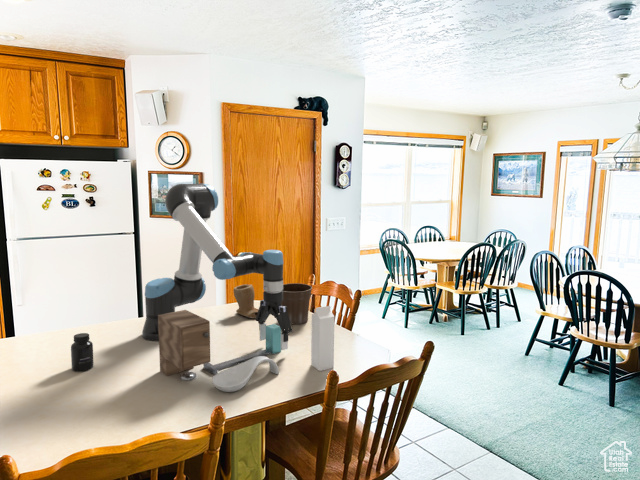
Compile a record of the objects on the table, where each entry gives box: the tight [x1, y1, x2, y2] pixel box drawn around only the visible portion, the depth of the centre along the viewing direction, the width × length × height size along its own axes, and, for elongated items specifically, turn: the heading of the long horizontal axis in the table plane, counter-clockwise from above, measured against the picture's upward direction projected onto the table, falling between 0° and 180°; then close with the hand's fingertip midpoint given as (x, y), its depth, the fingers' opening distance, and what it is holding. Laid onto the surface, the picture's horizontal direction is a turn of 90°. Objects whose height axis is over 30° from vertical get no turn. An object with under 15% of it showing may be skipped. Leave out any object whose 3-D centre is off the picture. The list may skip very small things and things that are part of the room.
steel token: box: [180, 371, 197, 382], centre depth 155 cm, size 5×5×1 cm
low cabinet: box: [158, 309, 211, 377], centre depth 154 cm, size 19×10×20 cm, turn 43°
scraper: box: [202, 323, 282, 375], centre depth 169 cm, size 7×30×10 cm, turn 133°
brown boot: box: [233, 283, 259, 319], centre depth 223 cm, size 15×12×15 cm
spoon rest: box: [211, 356, 280, 393], centre depth 151 cm, size 24×12×7 cm, turn 134°
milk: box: [310, 305, 335, 372], centre depth 163 cm, size 6×6×22 cm
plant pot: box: [281, 282, 313, 325], centre depth 215 cm, size 16×16×16 cm
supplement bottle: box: [70, 332, 95, 373], centre depth 160 cm, size 7×7×12 cm
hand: (273, 344), depth 178 cm, fingers open, 13 cm apart
